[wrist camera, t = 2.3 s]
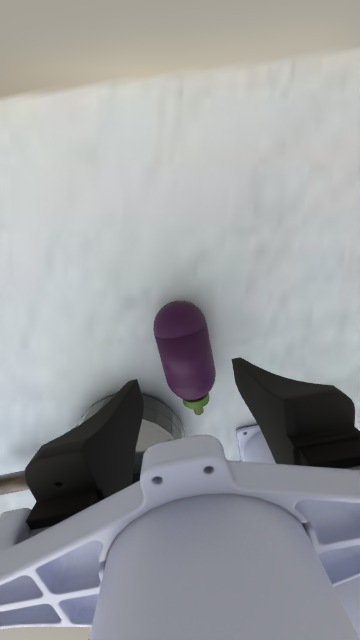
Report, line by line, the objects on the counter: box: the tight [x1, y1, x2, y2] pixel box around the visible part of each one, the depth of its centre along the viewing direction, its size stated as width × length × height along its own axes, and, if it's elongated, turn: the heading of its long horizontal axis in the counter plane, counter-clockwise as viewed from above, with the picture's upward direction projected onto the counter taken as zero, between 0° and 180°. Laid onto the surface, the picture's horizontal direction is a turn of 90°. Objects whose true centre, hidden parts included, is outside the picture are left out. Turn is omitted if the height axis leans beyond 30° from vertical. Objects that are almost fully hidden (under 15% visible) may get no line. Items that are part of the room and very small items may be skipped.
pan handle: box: [0, 471, 29, 495], centre depth 22 cm, size 10×2×2 cm, turn 102°
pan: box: [76, 395, 184, 484], centre depth 23 cm, size 13×13×4 cm
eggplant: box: [154, 301, 215, 415], centre depth 19 cm, size 12×5×5 cm, turn 12°
